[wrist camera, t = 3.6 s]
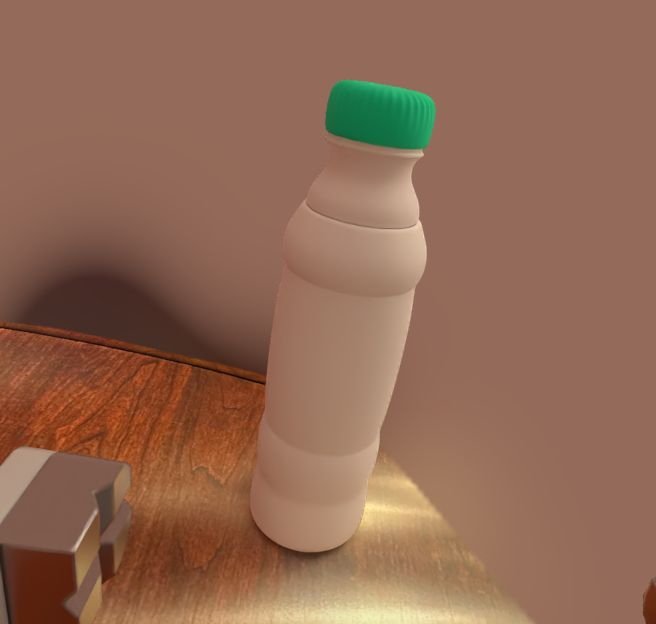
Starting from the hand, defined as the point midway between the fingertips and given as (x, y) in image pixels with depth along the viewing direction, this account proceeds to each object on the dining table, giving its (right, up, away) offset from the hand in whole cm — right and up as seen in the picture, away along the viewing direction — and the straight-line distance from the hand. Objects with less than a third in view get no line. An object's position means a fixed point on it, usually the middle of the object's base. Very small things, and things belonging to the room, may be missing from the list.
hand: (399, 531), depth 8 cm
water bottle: (-3, -9, +26) cm, 28 cm away
